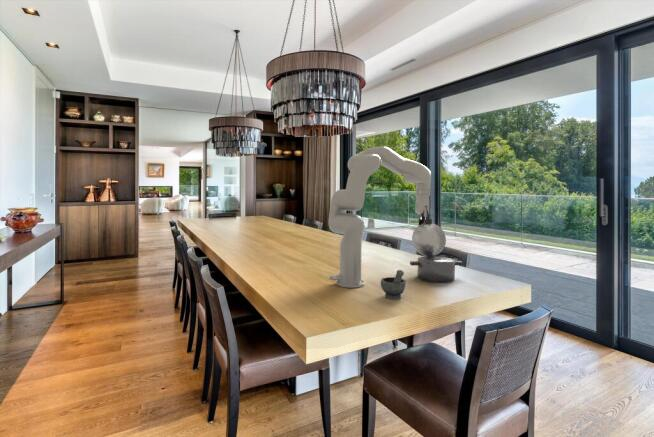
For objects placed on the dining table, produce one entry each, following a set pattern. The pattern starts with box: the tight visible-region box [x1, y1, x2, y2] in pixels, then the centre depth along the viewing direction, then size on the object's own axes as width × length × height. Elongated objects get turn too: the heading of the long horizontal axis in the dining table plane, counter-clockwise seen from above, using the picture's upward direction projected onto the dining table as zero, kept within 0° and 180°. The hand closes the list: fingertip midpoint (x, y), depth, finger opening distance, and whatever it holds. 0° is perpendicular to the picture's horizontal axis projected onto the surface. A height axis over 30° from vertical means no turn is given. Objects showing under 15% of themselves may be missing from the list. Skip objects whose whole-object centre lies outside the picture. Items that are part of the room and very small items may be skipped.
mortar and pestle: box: [380, 269, 407, 301], centre depth 140 cm, size 11×9×12 cm
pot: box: [409, 255, 464, 284], centre depth 171 cm, size 25×18×9 cm
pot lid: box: [411, 218, 447, 257], centre depth 181 cm, size 17×19×3 cm
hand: (422, 227), depth 191 cm, fingers closed
